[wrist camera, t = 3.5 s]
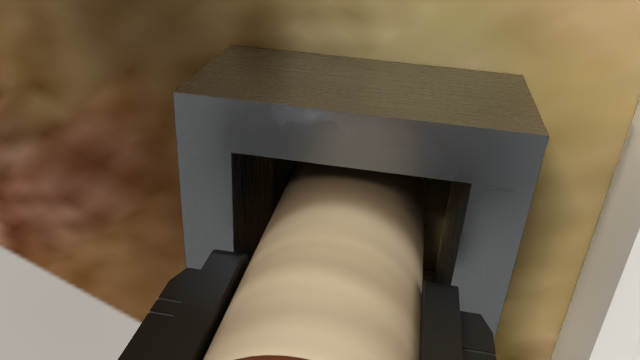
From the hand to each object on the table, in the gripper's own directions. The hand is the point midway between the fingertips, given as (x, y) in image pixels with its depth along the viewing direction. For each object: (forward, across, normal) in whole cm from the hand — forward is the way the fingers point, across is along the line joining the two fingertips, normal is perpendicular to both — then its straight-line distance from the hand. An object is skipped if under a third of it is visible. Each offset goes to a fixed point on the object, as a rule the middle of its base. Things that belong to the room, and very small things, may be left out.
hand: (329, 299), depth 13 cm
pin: (+5, 0, 0) cm, 5 cm away
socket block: (+5, 0, 0) cm, 5 cm away
